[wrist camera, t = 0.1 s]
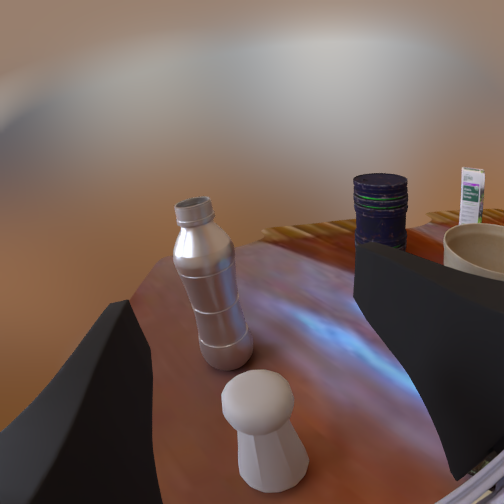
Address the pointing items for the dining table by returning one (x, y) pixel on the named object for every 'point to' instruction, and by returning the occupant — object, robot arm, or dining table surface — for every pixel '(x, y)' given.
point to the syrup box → (472, 195)
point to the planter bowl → (476, 249)
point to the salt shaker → (265, 430)
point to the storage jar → (381, 209)
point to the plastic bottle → (211, 284)
